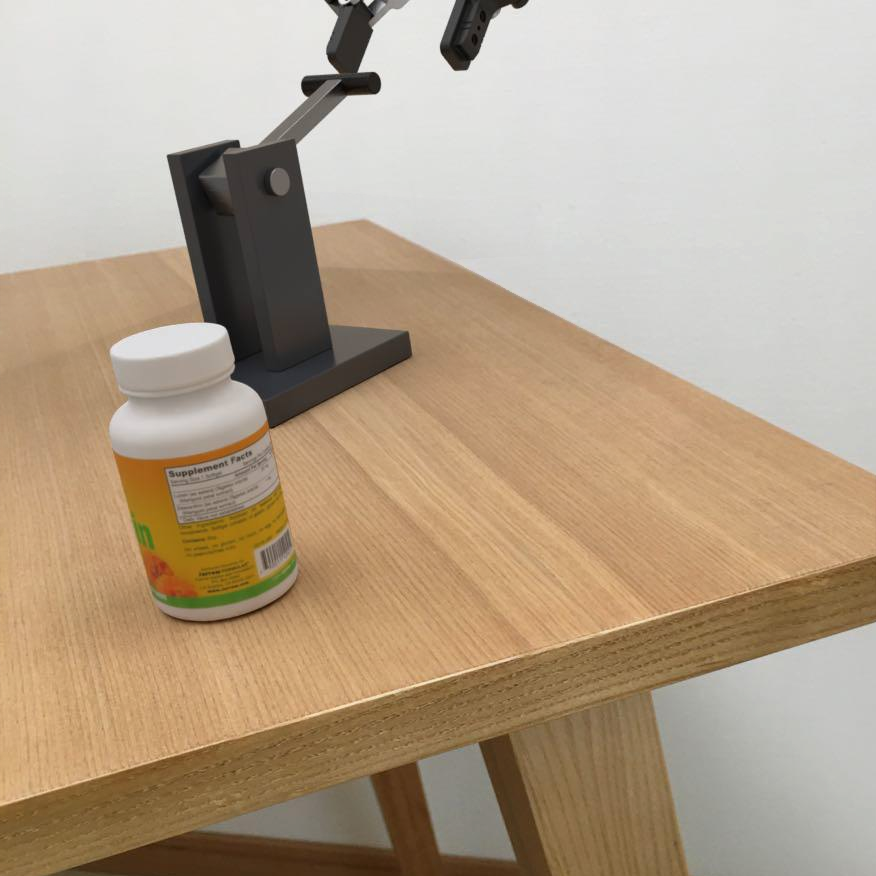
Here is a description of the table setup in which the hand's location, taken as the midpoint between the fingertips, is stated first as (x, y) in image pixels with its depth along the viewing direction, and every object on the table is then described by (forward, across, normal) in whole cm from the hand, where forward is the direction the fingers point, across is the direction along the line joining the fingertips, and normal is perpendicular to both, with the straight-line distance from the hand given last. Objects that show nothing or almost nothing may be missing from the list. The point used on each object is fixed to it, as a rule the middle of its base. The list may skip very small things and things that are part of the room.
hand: (394, 65), depth 73 cm
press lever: (+9, 0, -4) cm, 10 cm away
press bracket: (+21, 0, 0) cm, 21 cm away
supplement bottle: (+35, +16, -14) cm, 41 cm away
